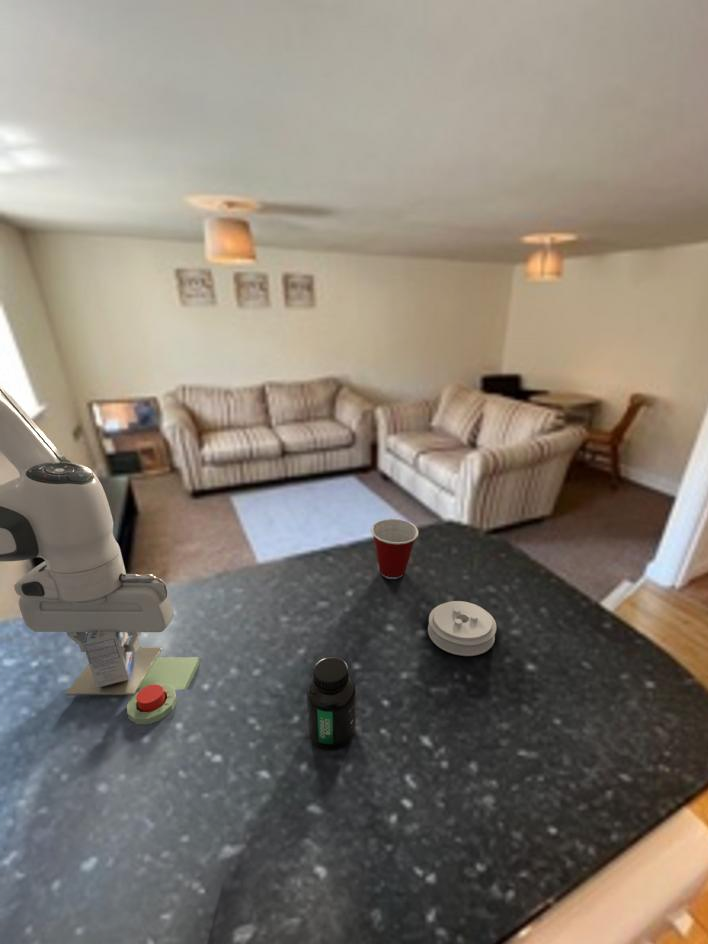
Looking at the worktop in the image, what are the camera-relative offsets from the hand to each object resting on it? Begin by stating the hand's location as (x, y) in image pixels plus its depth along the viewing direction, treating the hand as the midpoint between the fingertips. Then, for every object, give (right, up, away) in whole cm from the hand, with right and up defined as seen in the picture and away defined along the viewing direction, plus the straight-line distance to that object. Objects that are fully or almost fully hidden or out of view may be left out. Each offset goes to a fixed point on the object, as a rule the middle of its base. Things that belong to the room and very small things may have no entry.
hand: (111, 649), depth 70 cm
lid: (+57, -3, +16) cm, 60 cm away
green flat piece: (+3, -8, +1) cm, 8 cm away
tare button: (+8, -7, -3) cm, 11 cm away
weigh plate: (0, -4, +2) cm, 4 cm away
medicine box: (0, -3, +2) cm, 4 cm away
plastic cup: (+45, +7, +36) cm, 58 cm away
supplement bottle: (+35, -11, -4) cm, 37 cm away
